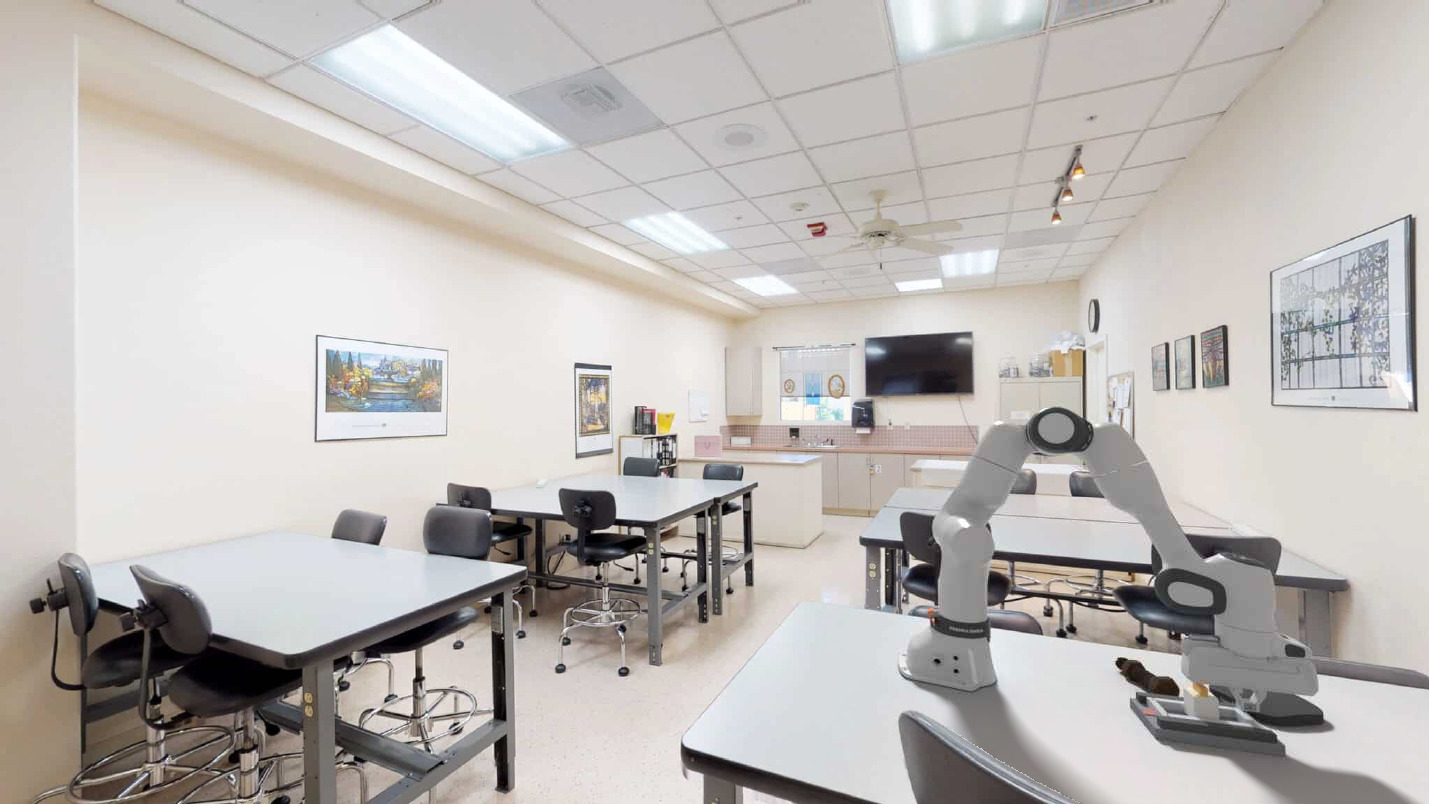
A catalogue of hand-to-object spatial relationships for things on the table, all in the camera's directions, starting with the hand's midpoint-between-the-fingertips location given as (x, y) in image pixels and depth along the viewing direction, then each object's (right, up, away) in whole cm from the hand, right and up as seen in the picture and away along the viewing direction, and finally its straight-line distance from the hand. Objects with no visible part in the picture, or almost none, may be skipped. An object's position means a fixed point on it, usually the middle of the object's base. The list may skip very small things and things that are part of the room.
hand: (1247, 710), depth 108 cm
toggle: (-7, -3, +2) cm, 8 cm away
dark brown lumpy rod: (-4, -6, +20) cm, 22 cm away
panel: (-7, -5, +2) cm, 9 cm away
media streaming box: (+13, -6, +10) cm, 18 cm away
